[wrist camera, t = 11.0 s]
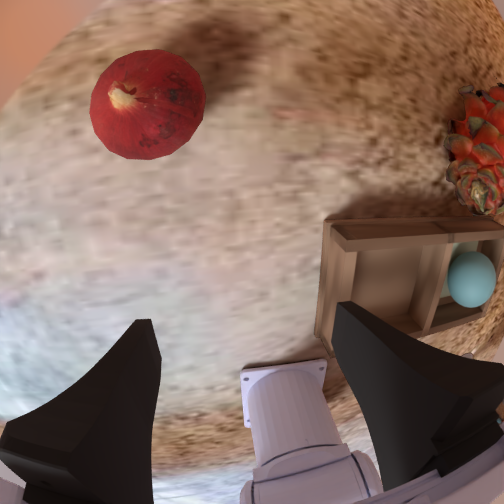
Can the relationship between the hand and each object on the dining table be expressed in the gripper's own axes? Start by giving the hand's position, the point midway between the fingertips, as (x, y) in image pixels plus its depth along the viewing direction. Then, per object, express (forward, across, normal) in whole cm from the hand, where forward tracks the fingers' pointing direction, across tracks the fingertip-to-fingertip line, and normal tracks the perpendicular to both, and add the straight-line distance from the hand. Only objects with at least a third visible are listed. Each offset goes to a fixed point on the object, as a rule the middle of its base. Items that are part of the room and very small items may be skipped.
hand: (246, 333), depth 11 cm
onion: (+10, +4, -9) cm, 14 cm away
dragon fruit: (+10, -20, -8) cm, 23 cm away
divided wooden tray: (+10, -16, +4) cm, 19 cm away
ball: (+7, -21, +4) cm, 22 cm away
